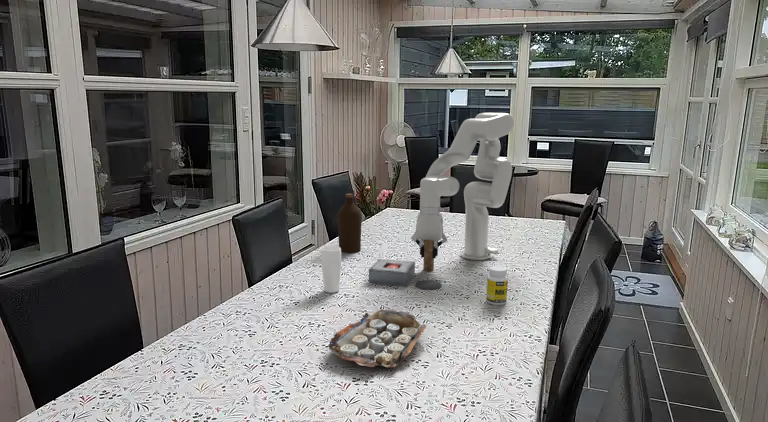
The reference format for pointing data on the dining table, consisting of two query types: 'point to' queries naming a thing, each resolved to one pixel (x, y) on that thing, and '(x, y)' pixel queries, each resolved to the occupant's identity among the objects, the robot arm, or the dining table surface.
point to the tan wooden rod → (428, 256)
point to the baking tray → (378, 338)
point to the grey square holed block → (392, 272)
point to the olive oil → (349, 226)
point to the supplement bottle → (497, 286)
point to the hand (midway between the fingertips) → (428, 256)
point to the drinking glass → (331, 268)
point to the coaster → (428, 284)
